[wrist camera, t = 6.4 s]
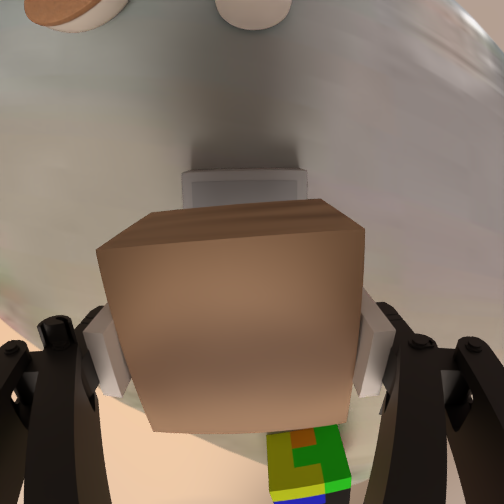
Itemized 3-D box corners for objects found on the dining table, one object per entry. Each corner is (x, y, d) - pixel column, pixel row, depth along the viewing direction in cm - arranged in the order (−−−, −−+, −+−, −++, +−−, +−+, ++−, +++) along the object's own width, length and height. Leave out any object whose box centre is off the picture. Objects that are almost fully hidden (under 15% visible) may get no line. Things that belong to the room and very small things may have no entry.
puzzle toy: (276, 468, 42) (279, 518, 32) (266, 434, 39) (269, 491, 29) (337, 457, 41) (348, 505, 32) (336, 421, 38) (351, 476, 29)
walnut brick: (151, 212, 14) (95, 249, 9) (320, 198, 14) (365, 228, 9) (178, 353, 17) (153, 431, 11) (320, 344, 17) (346, 422, 11)
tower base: (190, 170, 28) (181, 172, 24) (299, 168, 28) (307, 170, 24) (196, 272, 31) (189, 288, 27) (297, 270, 31) (303, 287, 27)
